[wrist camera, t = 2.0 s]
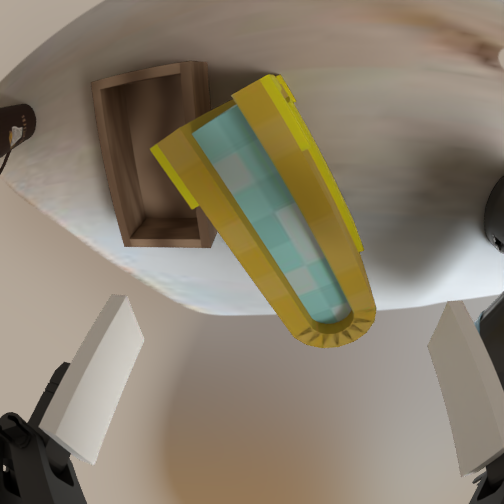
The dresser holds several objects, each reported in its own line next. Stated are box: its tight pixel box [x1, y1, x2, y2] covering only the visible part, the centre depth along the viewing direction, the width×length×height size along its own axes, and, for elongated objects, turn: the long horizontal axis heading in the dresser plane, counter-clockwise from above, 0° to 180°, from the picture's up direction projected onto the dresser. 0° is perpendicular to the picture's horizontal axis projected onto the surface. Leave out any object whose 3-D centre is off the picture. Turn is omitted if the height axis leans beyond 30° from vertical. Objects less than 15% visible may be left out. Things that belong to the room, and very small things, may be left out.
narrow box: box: [91, 61, 217, 248], centre depth 36 cm, size 12×22×7 cm, turn 3°
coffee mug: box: [0, 104, 36, 174], centre depth 34 cm, size 12×9×10 cm
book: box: [150, 74, 376, 348], centre depth 27 cm, size 17×7×25 cm, turn 31°
